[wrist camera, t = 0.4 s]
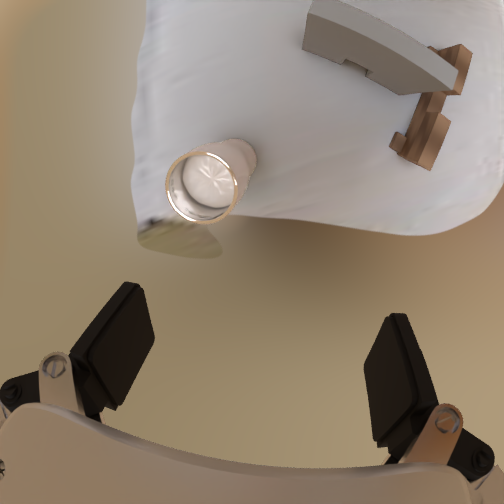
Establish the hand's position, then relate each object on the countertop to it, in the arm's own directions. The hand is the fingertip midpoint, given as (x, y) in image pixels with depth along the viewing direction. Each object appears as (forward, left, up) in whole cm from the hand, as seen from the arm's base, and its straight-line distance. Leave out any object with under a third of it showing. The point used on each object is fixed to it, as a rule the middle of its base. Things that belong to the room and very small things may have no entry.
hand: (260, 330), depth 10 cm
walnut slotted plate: (-18, +14, -29) cm, 37 cm away
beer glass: (+1, -7, -30) cm, 30 cm away
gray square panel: (-18, +3, -29) cm, 35 cm away
